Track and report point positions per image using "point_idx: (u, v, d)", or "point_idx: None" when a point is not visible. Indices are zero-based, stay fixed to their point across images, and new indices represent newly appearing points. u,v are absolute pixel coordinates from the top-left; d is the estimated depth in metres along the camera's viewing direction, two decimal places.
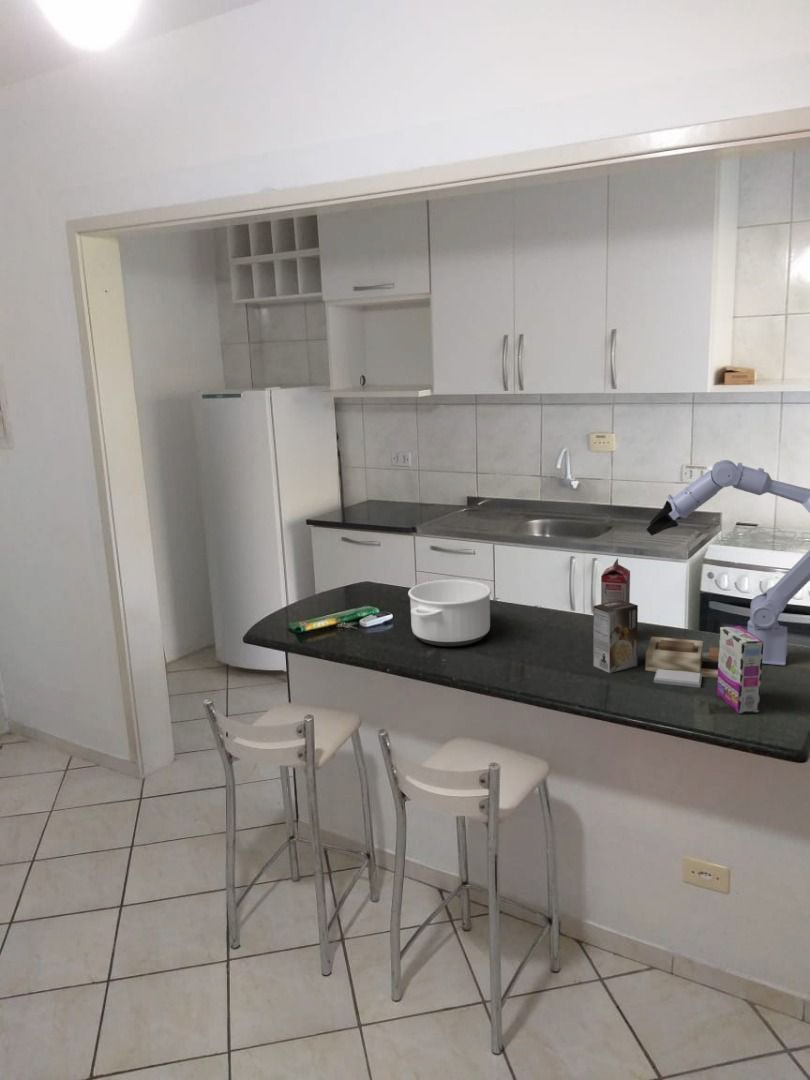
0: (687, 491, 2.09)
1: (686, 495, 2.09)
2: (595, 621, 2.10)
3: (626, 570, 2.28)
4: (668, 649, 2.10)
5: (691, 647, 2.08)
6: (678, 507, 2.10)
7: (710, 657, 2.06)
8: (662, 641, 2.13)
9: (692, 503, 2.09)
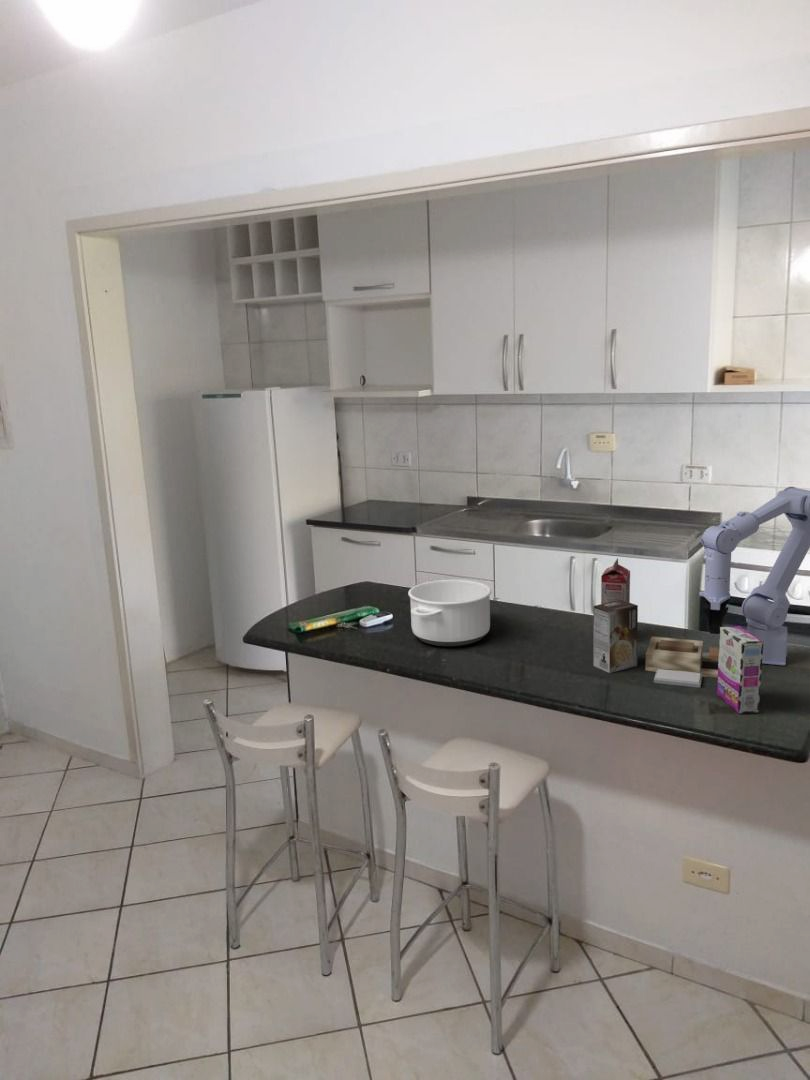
0: (707, 578, 2.03)
1: (710, 581, 2.02)
2: (595, 621, 2.10)
3: (626, 570, 2.28)
4: (668, 649, 2.10)
5: (691, 647, 2.08)
6: (714, 596, 2.02)
7: (710, 657, 2.06)
8: (662, 641, 2.13)
9: (721, 583, 2.01)
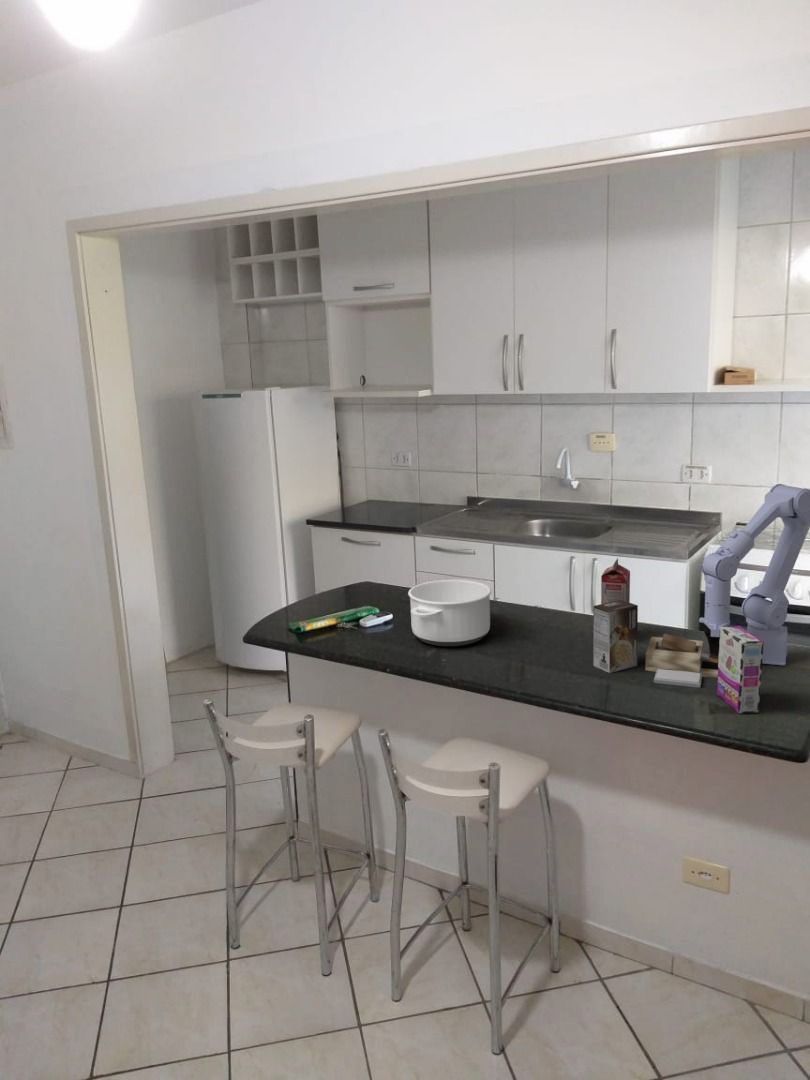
0: (707, 605, 2.04)
1: (710, 608, 2.04)
2: (595, 621, 2.10)
3: (626, 570, 2.28)
4: (670, 644, 2.09)
5: (693, 646, 2.08)
6: (714, 622, 2.03)
7: (710, 659, 2.06)
8: (665, 635, 2.12)
9: (721, 610, 2.03)
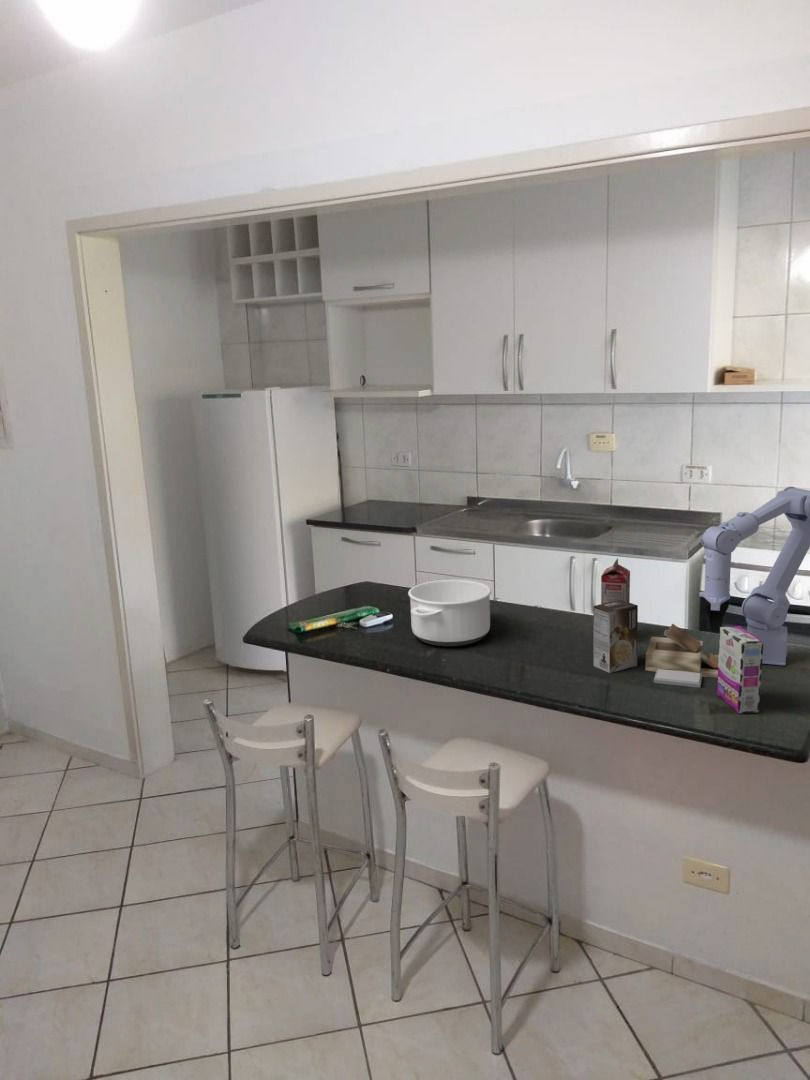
0: (707, 578, 2.03)
1: (710, 582, 2.02)
2: (595, 621, 2.10)
3: (626, 570, 2.28)
4: (676, 636, 2.08)
5: (698, 646, 2.08)
6: (714, 596, 2.02)
7: (709, 663, 2.06)
8: (673, 626, 2.11)
9: (721, 583, 2.01)
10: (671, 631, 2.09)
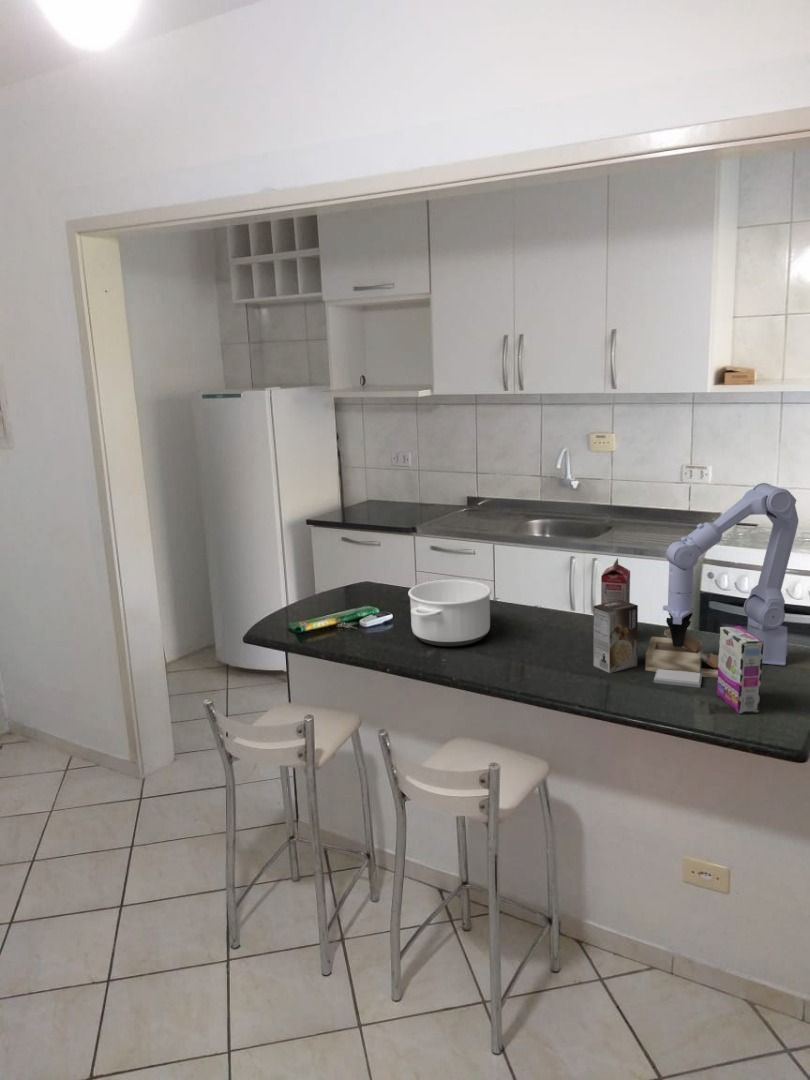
0: (670, 593, 2.07)
1: (673, 596, 2.06)
2: (595, 621, 2.10)
3: (626, 570, 2.28)
4: None
5: (698, 646, 2.08)
6: (677, 610, 2.06)
7: (709, 663, 2.06)
8: None
9: (683, 598, 2.05)
10: None
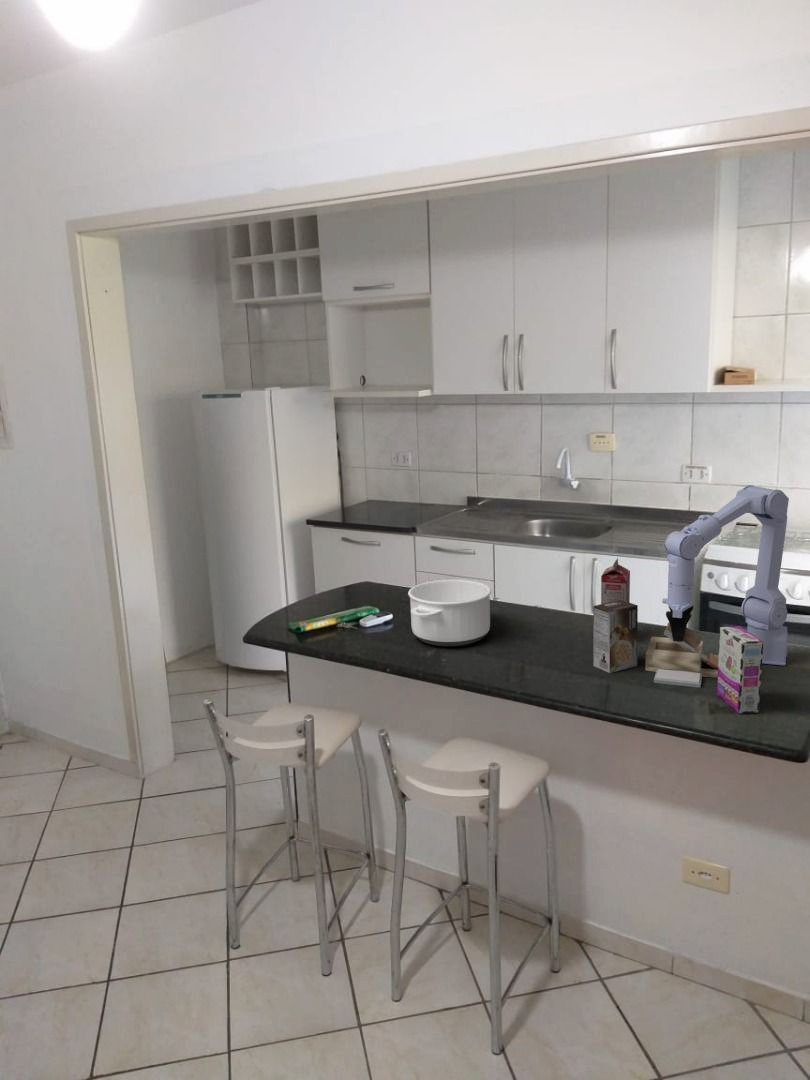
0: (670, 585, 1.97)
1: (673, 588, 1.97)
2: (595, 621, 2.10)
3: (626, 570, 2.28)
4: None
5: (698, 641, 1.98)
6: (677, 603, 1.96)
7: (709, 663, 2.06)
8: None
9: (684, 590, 1.95)
10: None
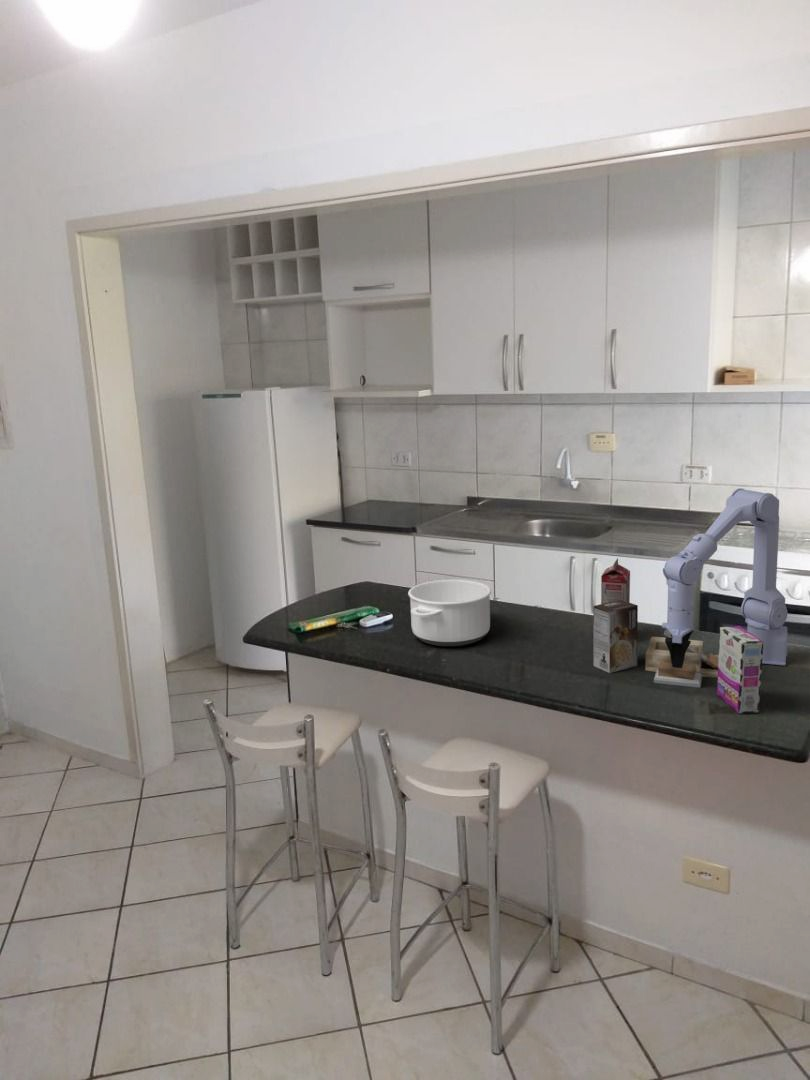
0: (670, 609, 1.97)
1: (672, 613, 1.97)
2: (595, 621, 2.10)
3: (626, 570, 2.28)
4: (667, 672, 2.01)
5: (691, 670, 1.99)
6: (676, 628, 1.97)
7: (709, 663, 2.06)
8: (662, 663, 2.04)
9: (683, 615, 1.96)
10: (660, 670, 2.02)
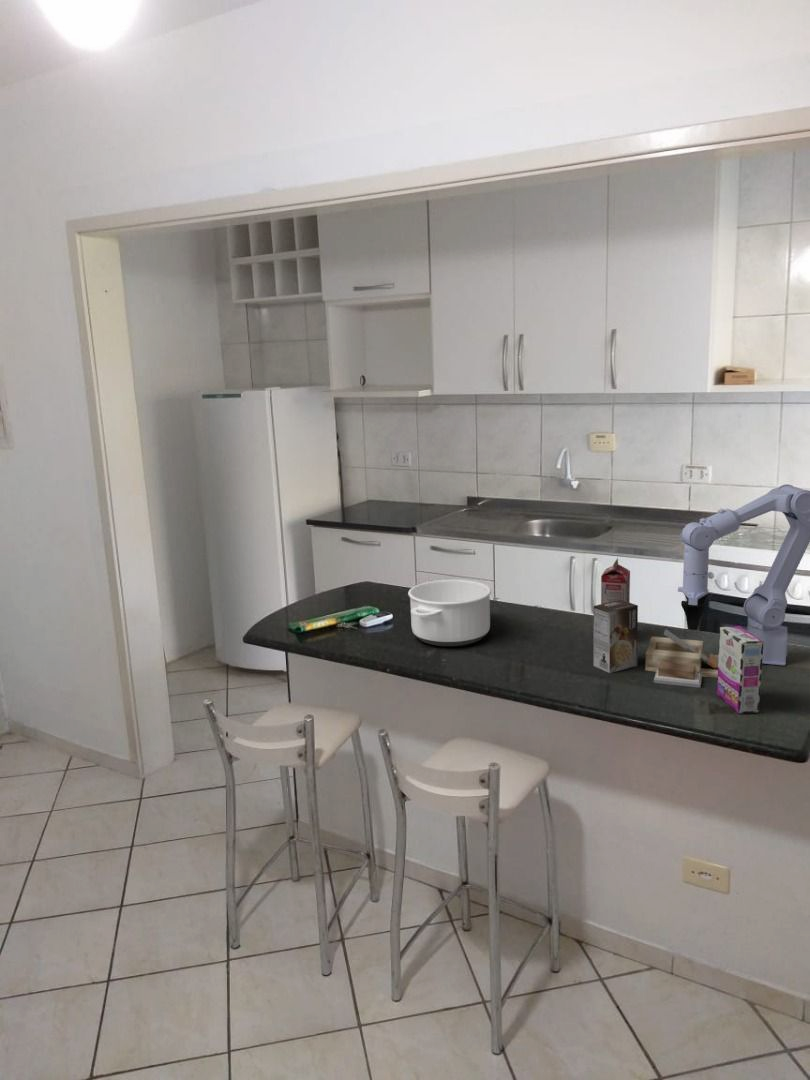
0: (686, 574, 2.06)
1: (688, 577, 2.05)
2: (595, 621, 2.10)
3: (626, 570, 2.28)
4: (667, 672, 2.01)
5: (691, 670, 1.99)
6: (692, 591, 2.05)
7: (709, 663, 2.06)
8: (662, 663, 2.04)
9: (699, 579, 2.04)
10: (660, 670, 2.02)
